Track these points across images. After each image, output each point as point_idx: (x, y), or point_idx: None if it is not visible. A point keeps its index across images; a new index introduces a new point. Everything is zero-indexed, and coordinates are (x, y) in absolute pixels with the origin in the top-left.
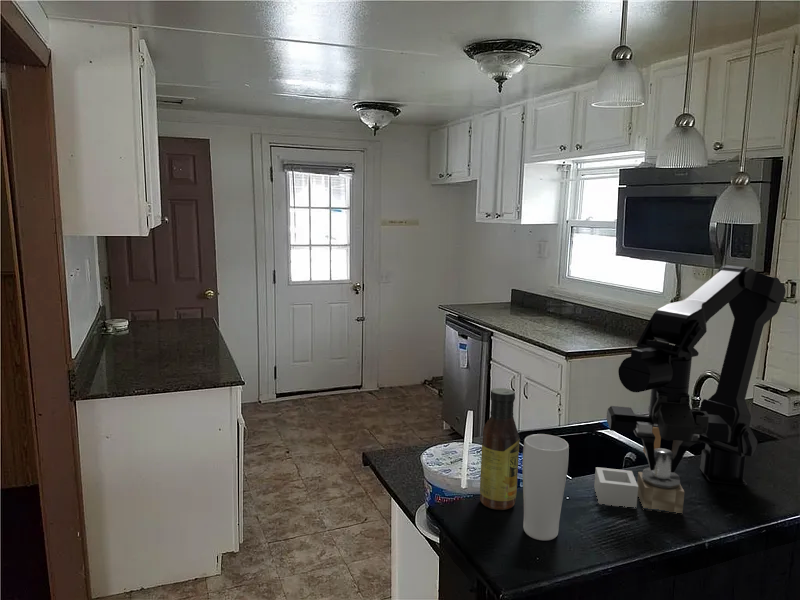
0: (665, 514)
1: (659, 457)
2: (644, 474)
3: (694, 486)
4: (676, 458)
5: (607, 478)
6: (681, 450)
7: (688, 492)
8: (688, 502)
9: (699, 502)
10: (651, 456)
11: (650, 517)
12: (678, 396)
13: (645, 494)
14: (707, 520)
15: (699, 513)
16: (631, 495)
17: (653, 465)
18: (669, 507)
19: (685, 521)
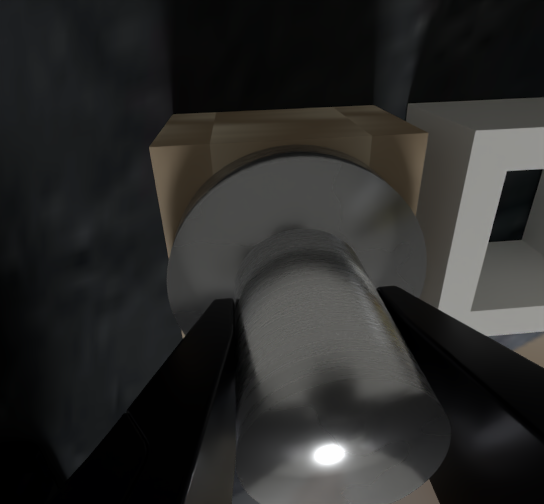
0: (264, 83)
1: (398, 353)
2: (424, 254)
3: (97, 396)
4: (201, 382)
5: (540, 276)
6: (127, 496)
7: (124, 343)
8: (130, 254)
9: (79, 269)
10: (477, 356)
11: (357, 14)
12: None
13: (402, 121)
14: (39, 80)
15: (81, 153)
16: (477, 113)
17: (398, 304)
18: (242, 116)
19: (163, 24)
